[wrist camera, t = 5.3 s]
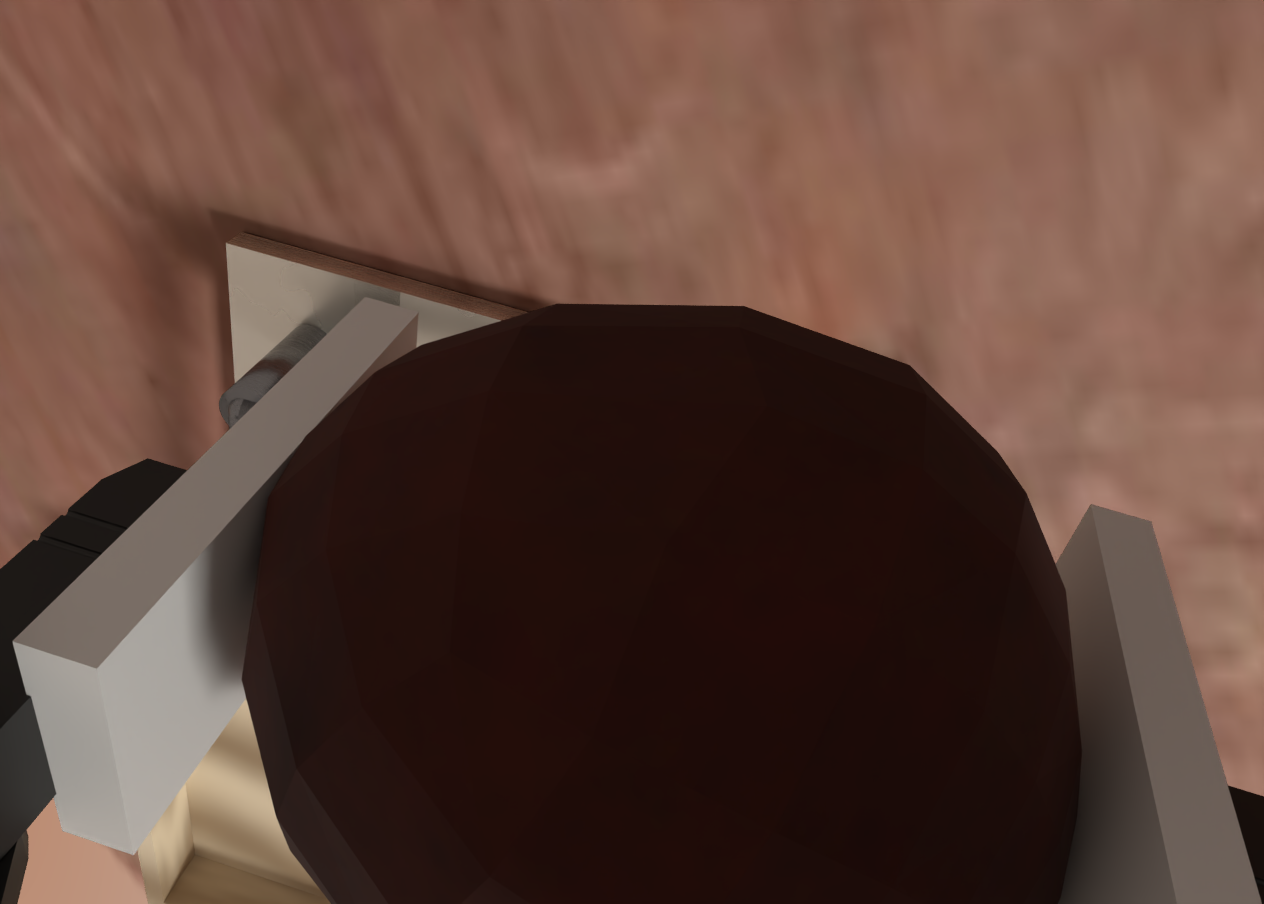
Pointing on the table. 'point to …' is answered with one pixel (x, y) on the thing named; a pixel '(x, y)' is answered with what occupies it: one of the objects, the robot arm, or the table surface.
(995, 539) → the dark brown ball
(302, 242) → the table surface
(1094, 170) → the table surface
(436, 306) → the corner grab bar
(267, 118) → the table surface
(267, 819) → the tray
